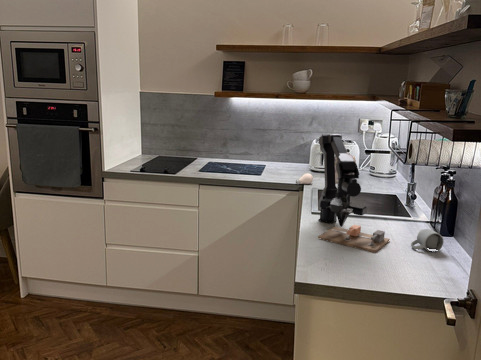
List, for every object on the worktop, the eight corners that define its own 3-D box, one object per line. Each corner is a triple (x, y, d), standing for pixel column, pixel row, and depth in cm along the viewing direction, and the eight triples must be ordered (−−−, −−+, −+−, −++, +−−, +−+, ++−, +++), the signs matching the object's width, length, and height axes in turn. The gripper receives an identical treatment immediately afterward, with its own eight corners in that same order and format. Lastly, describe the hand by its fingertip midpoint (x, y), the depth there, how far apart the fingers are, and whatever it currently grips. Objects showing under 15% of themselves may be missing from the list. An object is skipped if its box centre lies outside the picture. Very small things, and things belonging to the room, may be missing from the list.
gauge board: (317, 238, 194) (318, 227, 193) (334, 228, 207) (335, 218, 206) (375, 252, 181) (376, 241, 180) (389, 241, 194) (390, 230, 193)
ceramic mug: (431, 244, 192) (433, 226, 190) (442, 252, 184) (445, 233, 182) (406, 245, 190) (408, 227, 189) (416, 253, 183) (418, 234, 181)
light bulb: (296, 177, 281) (313, 171, 283) (292, 177, 287) (308, 171, 290) (299, 188, 281) (316, 182, 284) (295, 187, 288) (311, 182, 290)
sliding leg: (343, 237, 192) (344, 230, 191) (353, 231, 200) (354, 224, 199) (350, 239, 190) (351, 232, 189) (360, 233, 198) (360, 226, 197)
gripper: (314, 189, 195) (312, 226, 198) (358, 198, 184) (355, 236, 188) (326, 185, 204) (323, 220, 207) (369, 192, 193) (365, 229, 197)
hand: (341, 226), depth 200 cm, fingers closed
